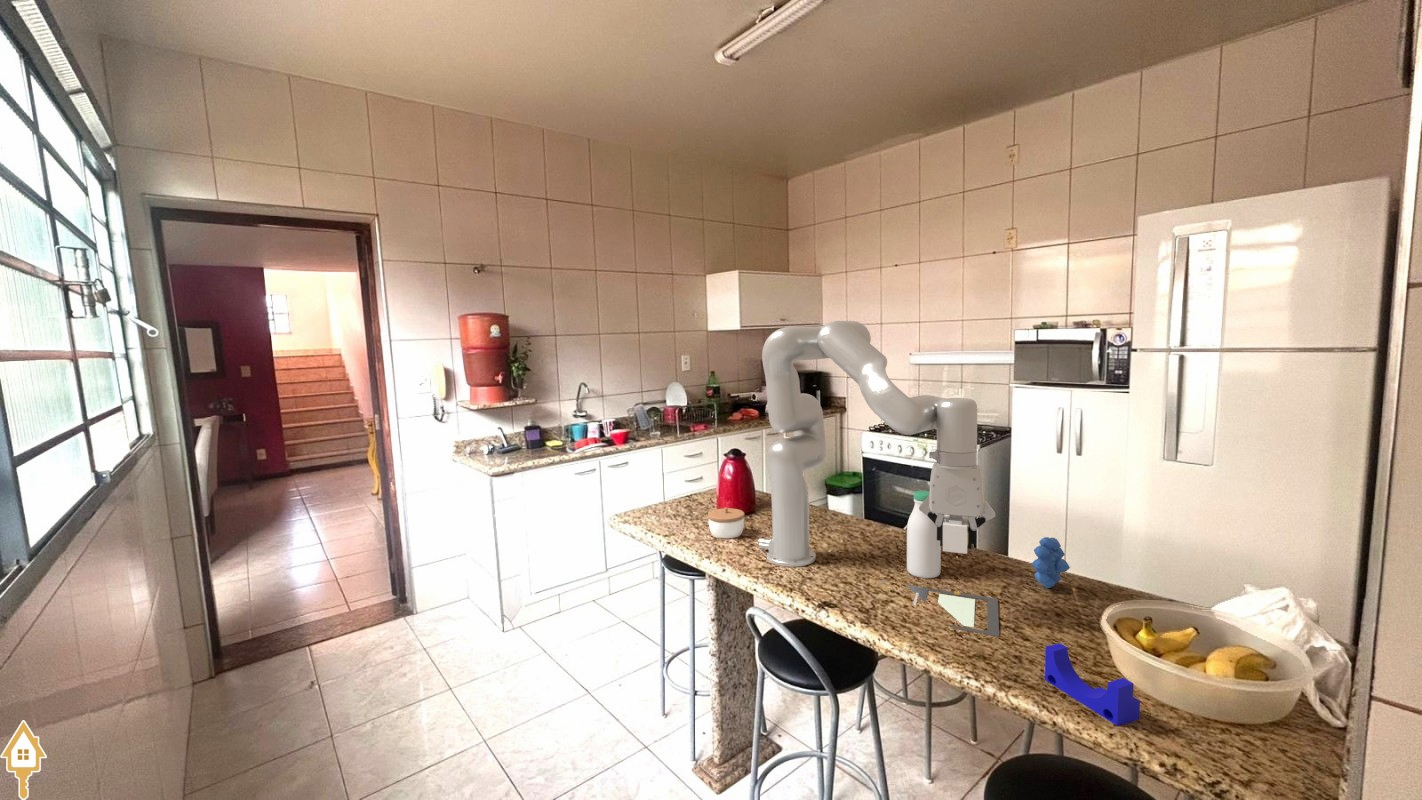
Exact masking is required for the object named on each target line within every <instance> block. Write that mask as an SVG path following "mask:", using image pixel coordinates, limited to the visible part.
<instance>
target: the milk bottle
mask: <svg viewBox="0 0 1422 800" xmlns="http://www.w3.org/2000/svg"><path fill="white" fill-rule="evenodd" d="M929 492H930V490H917V491H914V492H913V502H914V506H913V508H912V512H911V513H910V515H909V518H908V521H907V526H906V571H907V572H908V574H910V575H911V576H914V577H915V578H916V577H918V578H923V579H933V578H937V577H939V576H940V574H941V565H942V564H941V561H942V559H941V558H942V557H941V556H942V554H941V553H942V550H941V548H942V546H940V541H939V540H937V526H936V525H935V523H934V522H933V521H932V520H931V519H930V518H929V517H928V516H927V515H925V514H924V513H923V512H921V511H920V510H919V507H920V505H921V504H922V503H923V502H924V501H925V499H926V498H927V497H928V496H929ZM928 508H929V509H930V507H929V506H928ZM935 514H936V513H935ZM936 515H937V514H936Z"/></svg>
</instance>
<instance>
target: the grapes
mask: <svg viewBox="0 0 1422 800" xmlns="http://www.w3.org/2000/svg"><path fill="white" fill-rule="evenodd" d="M1038 543H1039V545H1038V546H1036V547H1035V548H1034V549H1033V552H1034V554H1035V555H1036V557H1037V558H1036V559H1034V560H1033V561H1032V562H1031V564H1032V567H1033V569H1034V570H1035V571H1036V572H1035V573H1034V574H1033V575H1034V577H1035V580H1036V581H1037V582H1038V583H1040V584H1041V585H1042V586H1043V587H1045V588H1046V589H1051V588H1052V587H1054V586H1055V585H1056V584H1057V583H1059V582H1060V581H1061V580H1062V577H1061V575H1060V574H1061V573H1066V572H1068V570H1070V569H1071V567H1070V565H1069V563H1068V562H1067V561H1066V560H1065V559H1063V557H1065V555H1066V554H1065V553H1064V550H1063V549H1062V545H1061V544H1060V542H1059V540H1058V538H1056V537H1048V536H1045V537H1044V536H1043V538H1041V539H1040V540H1039V541H1038Z"/></svg>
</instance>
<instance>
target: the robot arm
mask: <svg viewBox="0 0 1422 800" xmlns="http://www.w3.org/2000/svg"><path fill="white" fill-rule="evenodd" d="M871 340H872V338H871V333H870V331H869V330H868V328H867V326H866V325H864V324H863V323H861V322H858V321H856V320H855V321H854V320H833V321H831V322H828V323H826V324H825V325H817V326H801V325H800V326H798V325H794V326H793V325H792V326H786V327H782V328H779V329H778V328H777V329H776V330H775V331H773V332H772V333H771V334H770V335H768V337H767V338H766V340H765V342H764V345H763V347H762V351H761V352H762V353H761V356H762V357H761V359H762V367H763V371H764V375H765V376H764V378H765V385H766V399H767V400H766V401H767V411H768V420H769V425H770V426H771V428H772V429H773V431H775V432H777V433H778V434H779V433H780V434H788V433H793V436H789V437H785V438H782V439H778V440H777V441H775V442H774V443H773V444H771V446H770V447H769V448H768V450H767V453H766V464H767V469H768V474H769V481H770V495H771V524H772V525H771V533H772V534H771V535H772V537H771V538H769V539H767V538H765V537H764V538H762V537H759V538H758V542H757V543H758V546H759V548H760V549H767V550H768V551H767V553H766V559H767V560H768V561H769V562H770V563H772V564H775V565H778V566H780V567H789V568H792V567H793V568H796V567H797V568H798V567H805V566H807V565H808V566H809V565H811V564H813V563H814V562H815V561H816V559H817V558H816V557H817V555H816V552H815V551H814V550H812V549H810V508H809V507H810V506H809V505H810V502H809V501H810V500H809V488H808V485H807V484H808V483H807V482H806V479H805V476H804V472H808V471H811V470H814V469H816V468H818V467H819V466H821V465H822V464H823V463H824V460H825V458H826V455H827V454H826V452H827V451H826V450H827V447H826V433H825V421H824V420H825V419H824V412H823V408H822V406H821V403H820V402H819V400H818V399H817V398H816V397H815V396H814V395H811V394H809V393H802V392H801V387H800V386H801V384H800V383H801V382H800V377H799V374H798V371H797V369H796V367H795V366H794V363H795V362H796V361H797V362H798V361H812V360H813V361H814V360H823V359H830V360H831V361H832V362H833V363H835V365H837V366H838V367H839V369H842V371H844V373H846V375H848V376H849V378H851V379H852V380H853V381H854V382H855V383H856V384H857V385H858V387H859V390H860V392H861V395H862V396H863V399H864V400H865V403H866V405H867V406H868V407H869V408H870V410H871V411H872V412H873V413H874V414H875V415H877V417H878V418H879V419H880V420H881V421H883V422H884V423H885V424H886V425H887V426H888V427H890V428H891V429H892V430H893V431H895V432H897V433H899V434H901V435H906V436H912V435H916V434H920V433H922V432H928V431H931V430H936V449H935V450H933V451H929V452H928V454H929V455H928V457H929V459H933V460H935V461H936V462H934V463H933V464H932V467H931V473H930V481H929V491H930V492H929V496H928V497H927V498H926V499H925V501H924V502H923V503H922V504H921V505H920V507H919V510H920V511H921V512H923V513H924V514H925V515H927V516H928V517H929V518H930V519H931V520H932V521H933V522H934V523H935V525H936V526H937V540H939V541H940V546H941V547H943V522H944V517H945V515H952V516H963V517H968V525H969V527H968V550H972V549H973V545H976V543H977V542H976V541H977V539H976V536H977V535H976V534H977V530H978V529H979V528H980V527H981V526H983V525H984V524H985V523H986V522H988V521H990V520H992V519H993V518H996V512H995V511H994V509H993V508H992V506H991V505H990V504H989V503H988V502H987V500H986V499H985V498H984V497H985V496H984V495H985V493H984V480H983V479H984V478H983V473H982V467H981V466H980V465H978V464H977V463H978V403H977V401H976V400H974V399H972V398H968V397H967V398H966V397H947V398H946V397H941V396H934V395H930V394H929V395H927V394H925V395H917V396H911V397H909V396H908V395H907V394H905V393H904V392H903V391H902V390H901V389H900V388H898V386H896V385H895V384H894V382H893V381H892V380H891V379H890V378H889V375H888V374H887V370H886V368H887V366H888V358H887V357H886V355H884V354H883V353H882V352H881V351H880V350H878V349H877V348H876V347H874V345H873V344H871V342H872V341H871ZM928 506H929V507H930V509H929V508H928ZM984 512H985V513H984ZM935 513H936V514H935Z"/></svg>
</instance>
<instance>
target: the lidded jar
mask: <svg viewBox="0 0 1422 800" xmlns="http://www.w3.org/2000/svg"><path fill="white" fill-rule="evenodd" d="M707 519H708V526H709V531H710V533H711V535H712V536H714V537H716V538H719V539H734V538H738V537H740V536H741V535H742V533H743V531H744V527H745V512H744V511H743V510H741V509H738V508H729V507H723V508H717V509H714V510H713V509H712V510H711V511H709V512H708V514H707Z"/></svg>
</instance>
